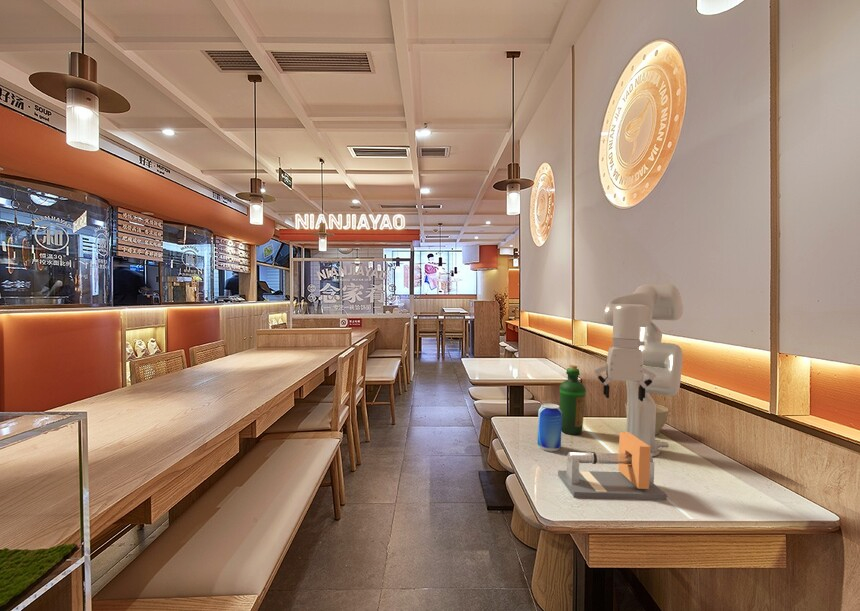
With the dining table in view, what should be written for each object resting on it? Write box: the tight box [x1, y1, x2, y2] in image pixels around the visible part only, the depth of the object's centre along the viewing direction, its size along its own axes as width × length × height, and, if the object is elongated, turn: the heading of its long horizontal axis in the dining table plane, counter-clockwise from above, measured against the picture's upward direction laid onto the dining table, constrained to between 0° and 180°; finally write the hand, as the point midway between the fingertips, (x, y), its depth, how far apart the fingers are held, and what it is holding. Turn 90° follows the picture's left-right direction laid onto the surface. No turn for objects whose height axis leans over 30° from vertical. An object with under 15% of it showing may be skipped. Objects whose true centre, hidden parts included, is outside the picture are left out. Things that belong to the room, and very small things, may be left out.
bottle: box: [559, 364, 587, 436], centre depth 167 cm, size 11×11×28 cm
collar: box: [617, 431, 650, 489], centre depth 118 cm, size 3×12×12 cm, turn 0°
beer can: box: [537, 402, 562, 452], centre depth 148 cm, size 8×8×16 cm
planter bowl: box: [624, 402, 669, 436], centre depth 170 cm, size 16×16×11 cm
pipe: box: [566, 451, 655, 486], centre depth 118 cm, size 24×4×9 cm, turn 90°
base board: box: [557, 469, 668, 500], centre depth 118 cm, size 26×14×2 cm, turn 90°
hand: (623, 398), depth 124 cm, fingers open, 9 cm apart
